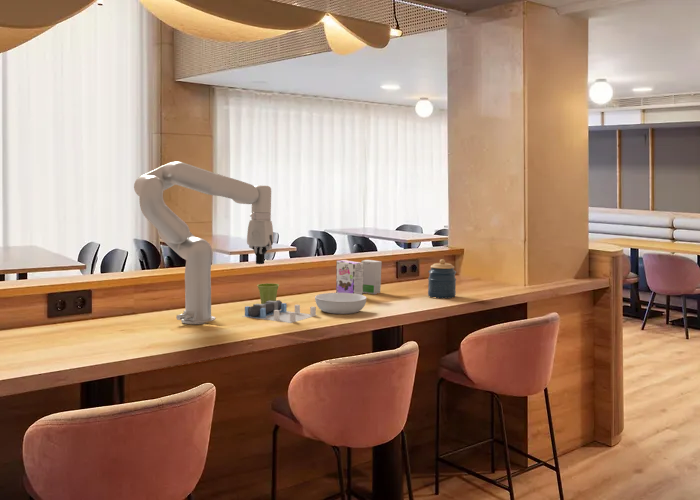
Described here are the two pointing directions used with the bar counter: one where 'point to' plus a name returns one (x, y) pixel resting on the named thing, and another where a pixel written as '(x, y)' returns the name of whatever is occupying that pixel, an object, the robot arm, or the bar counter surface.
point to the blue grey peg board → (283, 314)
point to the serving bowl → (340, 302)
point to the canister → (442, 280)
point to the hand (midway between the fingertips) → (260, 263)
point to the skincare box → (371, 276)
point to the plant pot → (268, 292)
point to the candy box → (349, 277)
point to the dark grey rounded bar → (268, 305)
